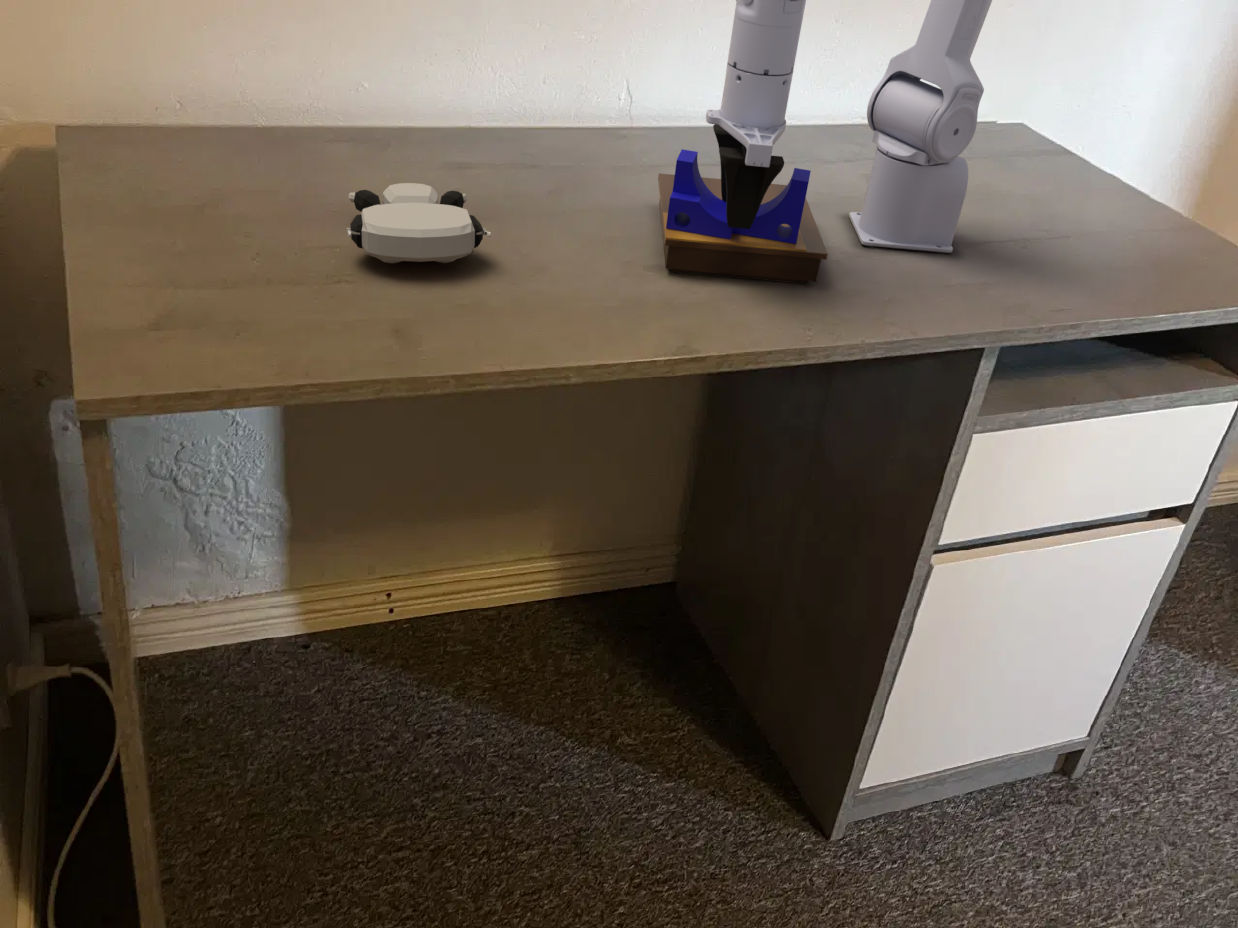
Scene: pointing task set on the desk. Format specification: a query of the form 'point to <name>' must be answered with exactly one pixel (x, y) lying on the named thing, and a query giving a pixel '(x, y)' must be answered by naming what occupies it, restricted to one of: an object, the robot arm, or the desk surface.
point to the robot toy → (414, 224)
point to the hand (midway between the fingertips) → (735, 215)
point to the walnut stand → (742, 246)
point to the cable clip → (707, 212)
